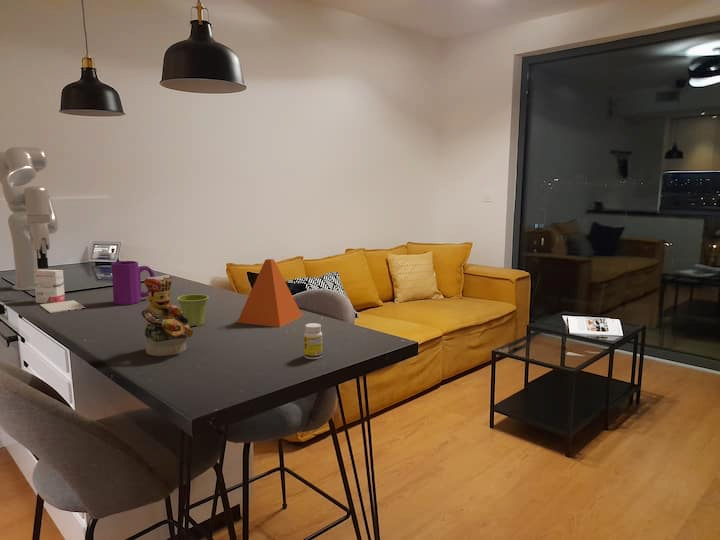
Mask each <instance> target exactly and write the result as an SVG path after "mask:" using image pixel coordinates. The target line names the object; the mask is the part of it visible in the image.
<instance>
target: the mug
mask: <svg viewBox="0 0 720 540" xmlns="http://www.w3.org/2000/svg"><path fill="white" fill-rule="evenodd" d="M110 265H111V279H112V280H111V281H112V294H113V296H112V297H113V299H112V300H113V304H115V305H118V306H126V305H127V306H128V305H129V306H130V305H134V304H138V303H140V302H141V298H148V296H149V293H148V290H147V291H142V282H141V279H142V277H141V273H142V272H144V271H147V272H148V274H149V275H150V276H149V277H156V276H155V273H154V271H153V270H152V268H151V267H150V266H148V265H141V266H139V262H138V261H134V260H122V261H113V262H111V263H110Z"/></svg>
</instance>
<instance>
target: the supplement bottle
mask: <svg viewBox="0 0 720 540" xmlns="http://www.w3.org/2000/svg"><path fill="white" fill-rule="evenodd" d="M304 328H305V329H304V330H305V331H304V334H303V356H304V358H305V359H309V360H318V359H321V358H322V357H323V333H322V325H321V323H316V322H313V323H311V322H310V323H307V324H305V326H304Z"/></svg>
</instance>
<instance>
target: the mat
mask: <svg viewBox="0 0 720 540" xmlns="http://www.w3.org/2000/svg"><path fill="white" fill-rule="evenodd" d="M39 306H40V307H41V308H43V310H46V311H47V312H48V313H49V314H53V313H61V312H62V311H63V312H69V311H68V310H70V311H76V310H75V309H77V310H82V308H85V309H86V307H85V306H84V305H82V304H81V303H79V302H78V301H76V300H73V299H72V300H65V301H62V302H56V303H39Z"/></svg>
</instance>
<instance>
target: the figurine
mask: <svg viewBox="0 0 720 540" xmlns="http://www.w3.org/2000/svg"><path fill="white" fill-rule="evenodd" d="M172 281H173V278H172V276H171V275H170V274H163V275H158V276H155V277H150V276H148V277H145V279H144V280H143V283H144V285H145V287H146V288H147V291H148V293H149V296H147V301H148V302H150V303H149V305H148V306H147V307H146V308H145V309H144V310H142V311H141V313H140V314H141V316H142V318H144V319H145V320H146V322H147V323H146V325H145V328H144V336H145V338H146V346H145V353H146V354H147V355H149V356H150V355H151V356H157V357H158V356H159V357H160V356H172V355H177V354H180V353H183V352H184V351H186V349H187V345H186V344H187V343H186V341H187V339H189V338H190V337H192V336H193V334H194V331H193V329H192V328H191V326H190V324H189V323H188V321H189V319H188V318H187V317H186V316H185V315H184V314H183V313H182V311H181V307H178V305H172V301H171V297H170V295H171V292H170V291H171V287H172Z"/></svg>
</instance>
